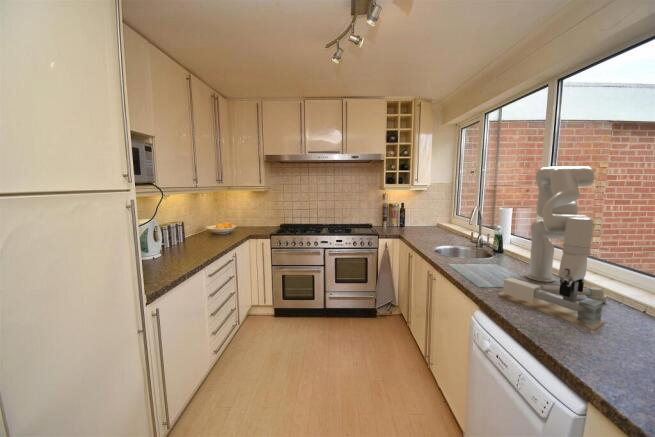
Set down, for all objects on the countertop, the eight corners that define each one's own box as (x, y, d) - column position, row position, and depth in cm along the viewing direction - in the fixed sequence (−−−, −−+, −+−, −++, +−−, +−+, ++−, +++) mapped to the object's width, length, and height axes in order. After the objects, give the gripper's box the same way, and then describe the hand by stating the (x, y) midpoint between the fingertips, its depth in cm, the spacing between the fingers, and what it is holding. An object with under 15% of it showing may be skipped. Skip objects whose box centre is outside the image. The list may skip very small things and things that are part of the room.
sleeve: (503, 293, 123) (504, 279, 122) (509, 290, 125) (510, 277, 124) (532, 303, 112) (533, 288, 112) (539, 300, 115) (540, 286, 114)
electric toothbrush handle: (531, 282, 128) (603, 284, 116) (532, 295, 129) (603, 299, 117) (533, 286, 124) (608, 288, 112) (535, 300, 124) (609, 304, 112)
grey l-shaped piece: (526, 294, 115) (528, 271, 114) (530, 293, 117) (532, 270, 115) (590, 316, 97) (594, 288, 95) (594, 314, 98) (598, 286, 96)
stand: (498, 295, 123) (499, 277, 122) (509, 291, 127) (511, 274, 126) (593, 329, 94) (595, 307, 93) (604, 323, 98) (607, 302, 97)
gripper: (574, 245, 107) (569, 285, 110) (552, 250, 100) (547, 294, 102) (599, 249, 101) (594, 292, 103) (577, 255, 93) (572, 301, 95)
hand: (570, 293), depth 103 cm, fingers open, 9 cm apart
